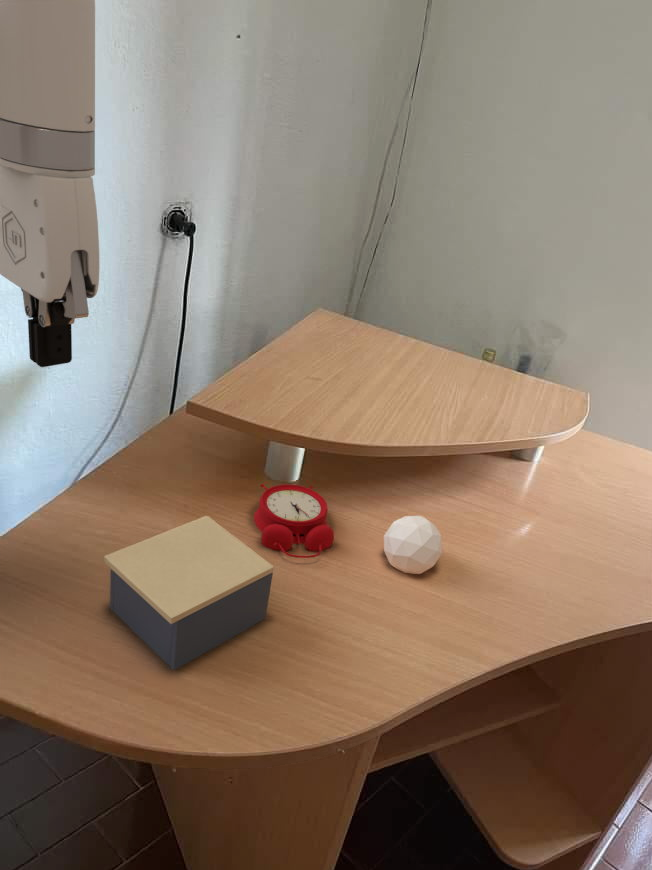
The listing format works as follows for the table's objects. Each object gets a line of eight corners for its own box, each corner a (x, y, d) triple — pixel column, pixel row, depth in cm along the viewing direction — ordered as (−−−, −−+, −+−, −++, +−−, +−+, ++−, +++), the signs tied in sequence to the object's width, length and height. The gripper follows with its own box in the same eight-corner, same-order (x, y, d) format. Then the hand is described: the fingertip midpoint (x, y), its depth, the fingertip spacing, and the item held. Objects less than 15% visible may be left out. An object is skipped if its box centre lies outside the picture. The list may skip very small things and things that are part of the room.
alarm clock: (321, 481, 101) (349, 521, 88) (316, 520, 103) (342, 566, 89) (250, 478, 98) (266, 519, 84) (246, 519, 100) (262, 566, 86)
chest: (173, 677, 70) (178, 621, 66) (109, 614, 76) (110, 559, 72) (264, 625, 79) (273, 572, 75) (201, 572, 85) (206, 520, 81)
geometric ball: (397, 572, 97) (413, 517, 98) (444, 586, 91) (460, 528, 92) (364, 561, 91) (381, 503, 92) (411, 575, 86) (430, 513, 87)
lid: (170, 624, 66) (171, 618, 65) (103, 561, 71) (103, 555, 71) (273, 572, 75) (274, 566, 75) (206, 520, 81) (207, 514, 80)
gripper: (-49, 123, 56) (-29, 338, 65) (47, 168, 49) (54, 402, 58) (41, 130, 62) (48, 328, 71) (140, 172, 54) (133, 386, 63)
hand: (51, 361), depth 64 cm, fingers closed
